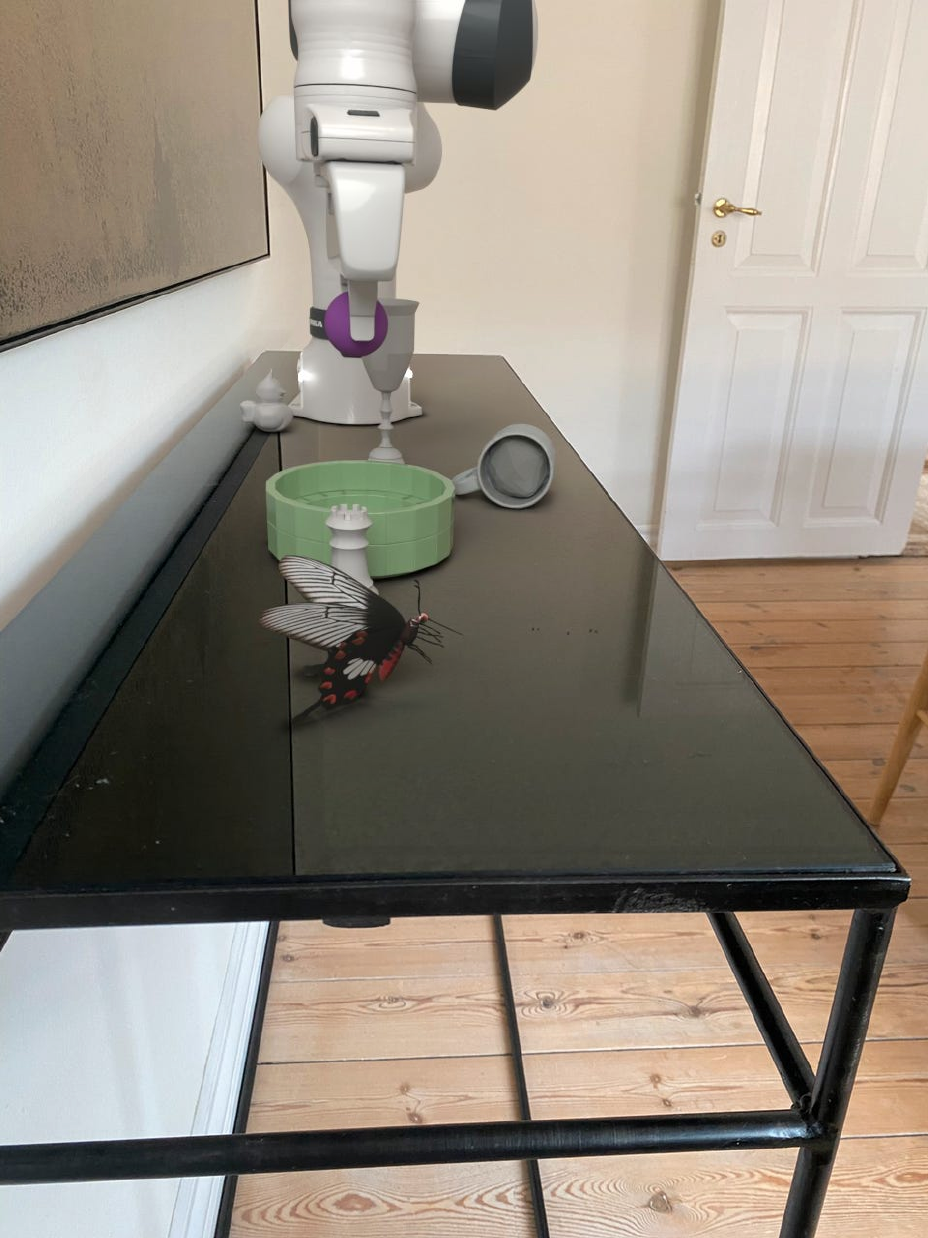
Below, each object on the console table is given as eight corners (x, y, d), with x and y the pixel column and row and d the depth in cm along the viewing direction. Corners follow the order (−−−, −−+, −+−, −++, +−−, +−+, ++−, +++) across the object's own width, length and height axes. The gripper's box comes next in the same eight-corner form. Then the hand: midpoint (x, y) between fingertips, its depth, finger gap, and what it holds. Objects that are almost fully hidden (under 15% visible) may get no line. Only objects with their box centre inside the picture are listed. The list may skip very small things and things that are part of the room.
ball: (323, 351, 76) (321, 286, 74) (384, 351, 77) (384, 287, 75) (327, 361, 72) (325, 293, 69) (391, 362, 73) (391, 294, 70)
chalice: (406, 481, 100) (409, 306, 93) (346, 475, 101) (344, 302, 94) (422, 465, 107) (427, 300, 99) (366, 459, 108) (366, 296, 101)
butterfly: (311, 777, 56) (187, 667, 52) (355, 685, 62) (247, 582, 59) (441, 712, 50) (310, 583, 47) (475, 618, 56) (363, 498, 53)
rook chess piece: (354, 632, 65) (354, 523, 62) (306, 616, 67) (302, 510, 64) (392, 611, 69) (393, 507, 65) (344, 597, 71) (343, 495, 68)
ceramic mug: (554, 489, 100) (559, 417, 97) (551, 511, 92) (556, 434, 89) (456, 483, 101) (458, 412, 98) (445, 505, 94) (446, 429, 90)
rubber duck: (294, 436, 117) (292, 371, 114) (240, 436, 116) (236, 370, 112) (293, 426, 122) (290, 364, 118) (241, 426, 120) (237, 363, 117)
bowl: (268, 524, 86) (266, 460, 83) (436, 521, 88) (438, 459, 86) (268, 589, 72) (265, 514, 69) (467, 582, 75) (470, 511, 72)
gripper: (307, 143, 77) (312, 318, 82) (319, 125, 58) (325, 352, 64) (383, 147, 78) (383, 319, 83) (419, 130, 60) (416, 353, 65)
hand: (358, 334), depth 74 cm, fingers closed on ball, 5 cm apart
